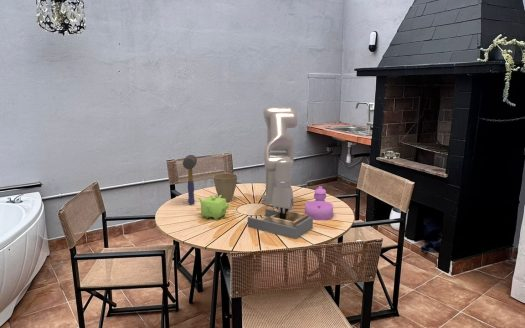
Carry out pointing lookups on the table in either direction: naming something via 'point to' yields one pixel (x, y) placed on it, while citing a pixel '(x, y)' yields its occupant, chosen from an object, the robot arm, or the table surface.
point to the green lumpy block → (213, 207)
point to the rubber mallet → (190, 176)
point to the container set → (319, 206)
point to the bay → (280, 225)
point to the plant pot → (225, 185)
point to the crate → (289, 218)
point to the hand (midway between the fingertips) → (282, 220)
